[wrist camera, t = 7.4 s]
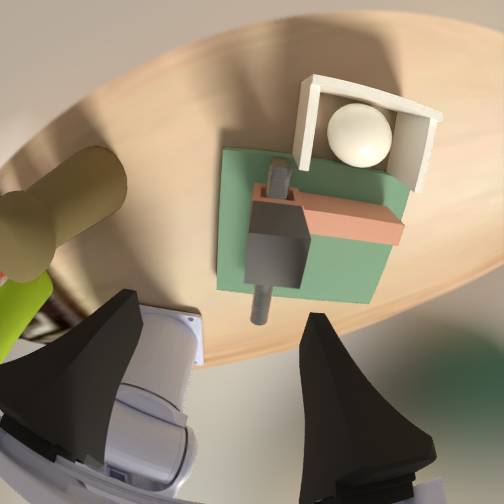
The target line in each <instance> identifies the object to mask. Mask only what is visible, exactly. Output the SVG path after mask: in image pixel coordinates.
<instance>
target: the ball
mask: <svg viewBox="0 0 504 504" xmlns="http://www.w3.org/2000/svg"><path fill="white" fill-rule="evenodd" d="M327 137H328V142H329V145H330V147H331V149H332V151H333V152H334V154H335V155H336V156H337V157H338V158H339V159H340V160H342V161H343V162H344V163H346V164H348V165H351V166H354V167H360V168H365V167H370V166H373V165H376V164H378V163H379V162H381V161H382V160H383V159H384V158H385V157H386V155H387V154H388V152H389V150H390V147H391V143H392V133H391V129H390V126H389V124H388V122H387V120H386V118H385V117H384V116H383V115H382V114H381V113H380V112H379V111H378V110H376V109H375V108H373V107H371V106H369V105H366V104H361V103H353V104H348V105H345V106H343V107H341V108H340V109H338V110H337V111H336V112H335V113H334V114H333V116H332V117H331V119H330V121H329V124H328V128H327Z"/></svg>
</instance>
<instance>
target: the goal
mask: <svg viewBox="0 0 504 504" xmlns="http://www.w3.org/2000/svg"><path fill="white" fill-rule="evenodd" d="M320 92H321V93H326V94H331V95H336V96H340V97H345V98H349V99H353V100H357V101H361V102H365V103H368V104H372V105H376V106H379V107H383V108H386V109H389V110H392V111H395V112H397V118H396V124H395V129H394V135H393V140H392V145H391V150H390V155H389V160H388V164H387V169H386V172H387V173H389V174H390V175H391V176H393V177H394V178H396V179H397V180H398V181H400V182H401V183H402V184H404V185H405V186H406V187H408V188H409V189H410V190H412V191H413V192H415V193H419V194H421V191H422V188H423V184H424V180H425V176H426V172H427V168H428V164H429V160H430V156H431V151H432V146H433V142H434V136H435V131H436V126H437V121H439V122H442V119H443V113H440V112H438V111H436V110H433V109H431V108H429V107H426V106H424V105H421V104H419V103H416V102H413V101H411V100H408V99H405V98H402V97H400V96H397V95H394V94H391V93H388V92H384V91H381V90H378V89H374V88H371V87H368V86H364V85H360V84H356V83H352V82H348V81H344V80H340V79H336V78H331V77H326V76H321V75H316V74H313V75H311V76H310V77H308V78H306V79H305V80H303V81H302V82H301V88H300V97H299V105H298V113H297V121H296V128H295V136H294V143H293V151H292V155H293V157H294V159H295V162H296V164H297V166H298V169H299V170H304V171H309V165H310V159H311V153H312V146H313V140H314V133H315V126H316V119H317V112H318V104H319V97H320Z"/></svg>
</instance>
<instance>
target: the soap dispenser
mask: <svg viewBox="0 0 504 504" xmlns="http://www.w3.org/2000/svg"><path fill="white" fill-rule="evenodd" d="M52 292H53V284H52V281H51V278H50V276H49V274H48V273H47V271H46V270H45V271H44V272H43V273H42V274H41V275H40V276H39V277H38V278H36V279H35V280H33V281H29V282H22V283H19V282H16V281H13V280H11V279H10V278H9V279H8V280H7V281H6V282H5V283H4V284H3V285H2V286H1V287H0V364H1V363H2V361H3V360H4V358H5V357H6V355H7V354H8V352H9V351H10V349H11V348H12V346H13V345H14V343H15V342H16V340H17V339H18V337H19V336H20V335H21V333H22V332H23V330H24V329H25V328H26V326H27V325H28V324H29V322H30V321H31V320H32V318H33V317H34V316H35V314H36V313H37V312H38V310H39V309H40V308H41V306H42V305H43V304H44V303H45V301H46V300H47V299H48V298H49V296H50V295H51V294H52Z"/></svg>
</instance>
